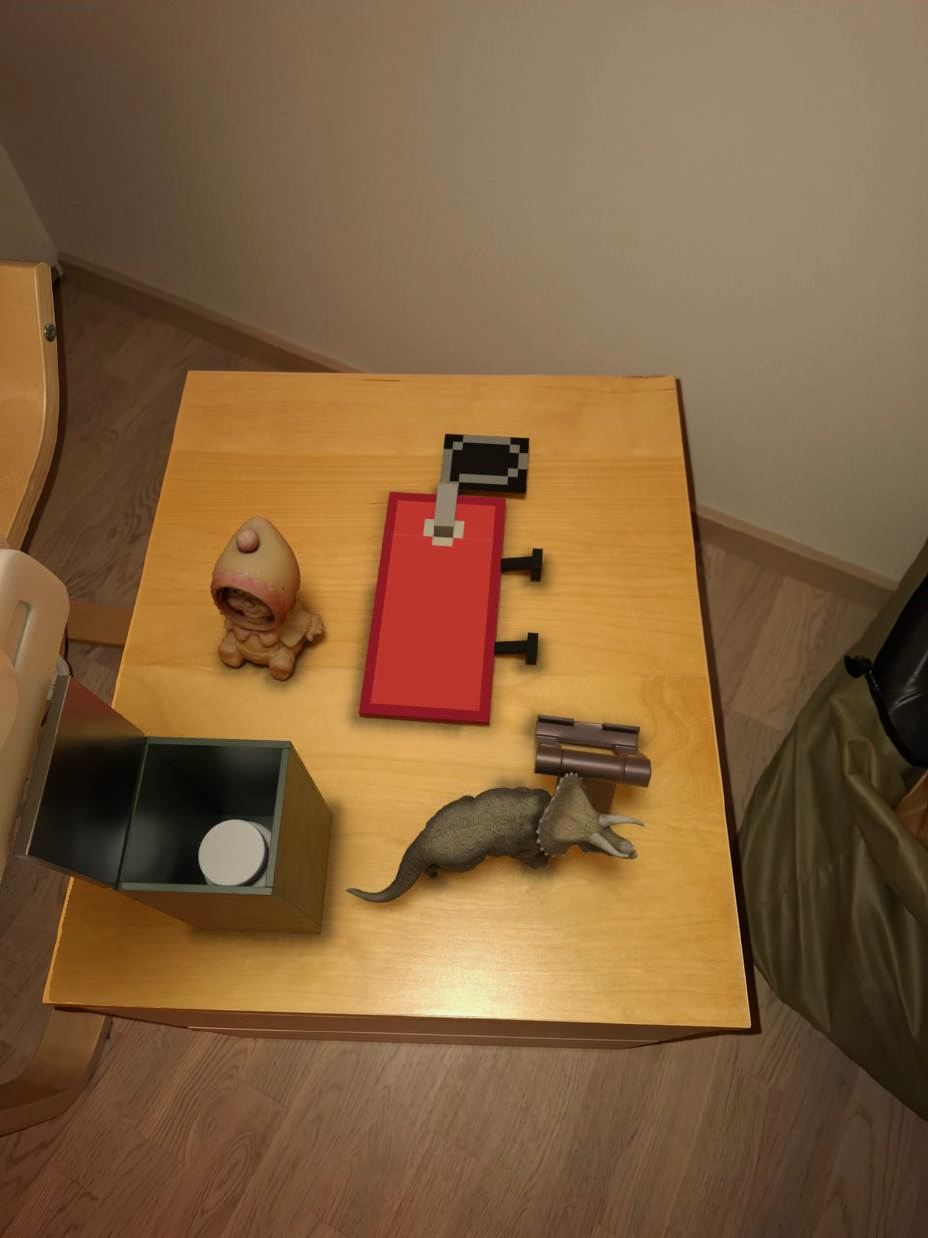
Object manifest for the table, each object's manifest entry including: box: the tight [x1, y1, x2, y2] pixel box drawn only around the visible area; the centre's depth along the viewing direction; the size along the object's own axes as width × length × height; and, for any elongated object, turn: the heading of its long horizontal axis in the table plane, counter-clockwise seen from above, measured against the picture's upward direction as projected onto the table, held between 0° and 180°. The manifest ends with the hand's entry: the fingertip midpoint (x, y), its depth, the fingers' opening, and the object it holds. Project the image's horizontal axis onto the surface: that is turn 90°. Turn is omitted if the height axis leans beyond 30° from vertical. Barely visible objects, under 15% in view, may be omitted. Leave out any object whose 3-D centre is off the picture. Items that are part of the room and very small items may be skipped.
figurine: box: [209, 515, 325, 682], centre depth 76 cm, size 10×8×15 cm
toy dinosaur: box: [345, 773, 646, 904], centre depth 68 cm, size 22×8×11 cm, turn 96°
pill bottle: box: [199, 820, 272, 887], centre depth 67 cm, size 6×6×10 cm
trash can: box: [111, 735, 333, 935], centre depth 64 cm, size 10×10×20 cm
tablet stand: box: [533, 714, 653, 815], centre depth 72 cm, size 9×8×8 cm
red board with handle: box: [358, 433, 544, 726], centre depth 83 cm, size 30×3×15 cm
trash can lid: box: [12, 674, 146, 890], centre depth 50 cm, size 10×10×1 cm
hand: (39, 787), depth 51 cm, fingers closed
